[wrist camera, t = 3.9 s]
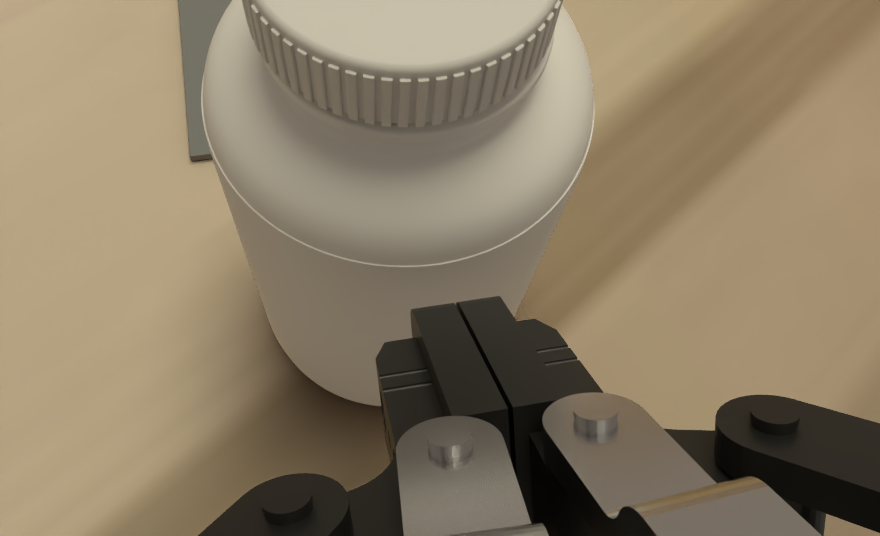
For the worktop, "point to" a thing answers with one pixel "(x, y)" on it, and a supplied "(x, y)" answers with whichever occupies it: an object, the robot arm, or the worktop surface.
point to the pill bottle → (391, 160)
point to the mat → (197, 63)
